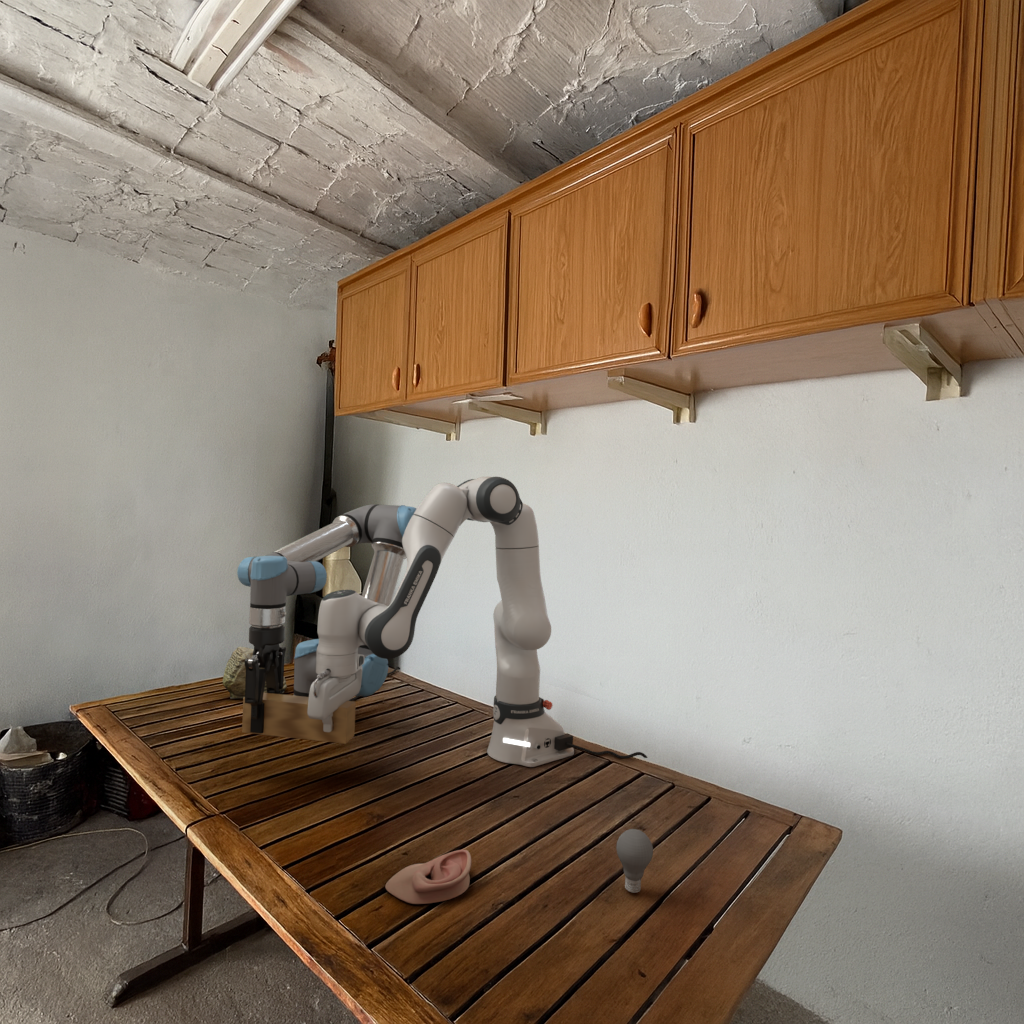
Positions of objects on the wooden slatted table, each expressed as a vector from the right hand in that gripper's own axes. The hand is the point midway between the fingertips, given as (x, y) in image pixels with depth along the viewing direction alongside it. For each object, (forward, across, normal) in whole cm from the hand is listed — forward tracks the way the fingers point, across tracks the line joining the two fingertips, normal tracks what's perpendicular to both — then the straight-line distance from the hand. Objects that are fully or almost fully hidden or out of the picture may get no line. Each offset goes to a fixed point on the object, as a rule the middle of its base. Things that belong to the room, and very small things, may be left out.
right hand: (334, 726), depth 140 cm
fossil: (+13, +51, +49) cm, 72 cm away
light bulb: (+13, -25, -65) cm, 71 cm away
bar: (+3, 0, +8) cm, 9 cm away
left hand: (+2, 0, +17) cm, 17 cm away
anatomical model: (+13, -31, -31) cm, 46 cm away
